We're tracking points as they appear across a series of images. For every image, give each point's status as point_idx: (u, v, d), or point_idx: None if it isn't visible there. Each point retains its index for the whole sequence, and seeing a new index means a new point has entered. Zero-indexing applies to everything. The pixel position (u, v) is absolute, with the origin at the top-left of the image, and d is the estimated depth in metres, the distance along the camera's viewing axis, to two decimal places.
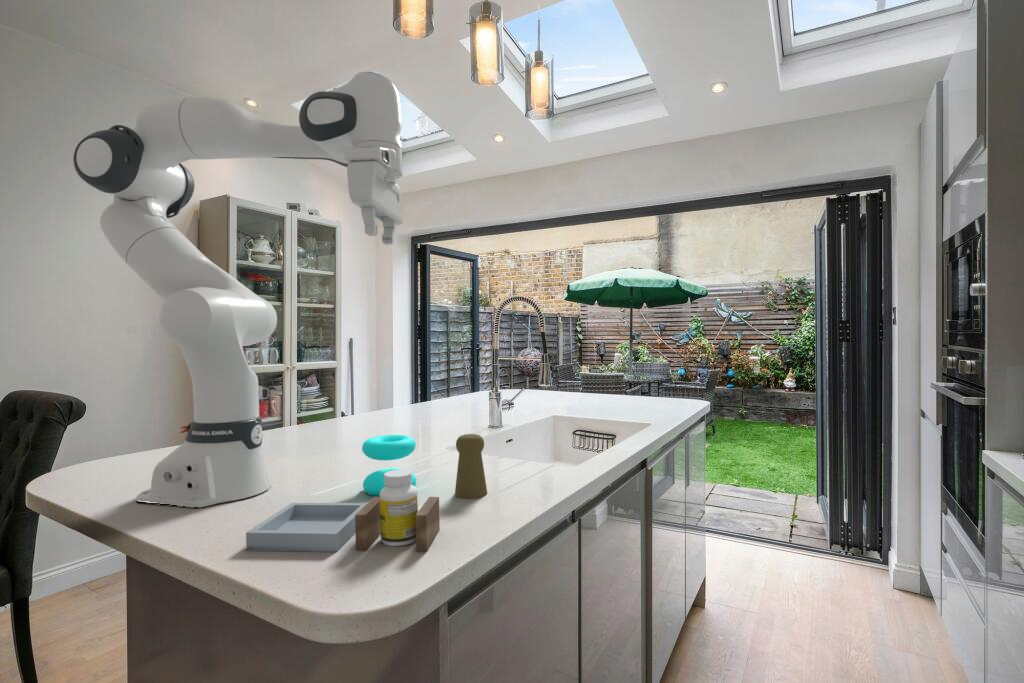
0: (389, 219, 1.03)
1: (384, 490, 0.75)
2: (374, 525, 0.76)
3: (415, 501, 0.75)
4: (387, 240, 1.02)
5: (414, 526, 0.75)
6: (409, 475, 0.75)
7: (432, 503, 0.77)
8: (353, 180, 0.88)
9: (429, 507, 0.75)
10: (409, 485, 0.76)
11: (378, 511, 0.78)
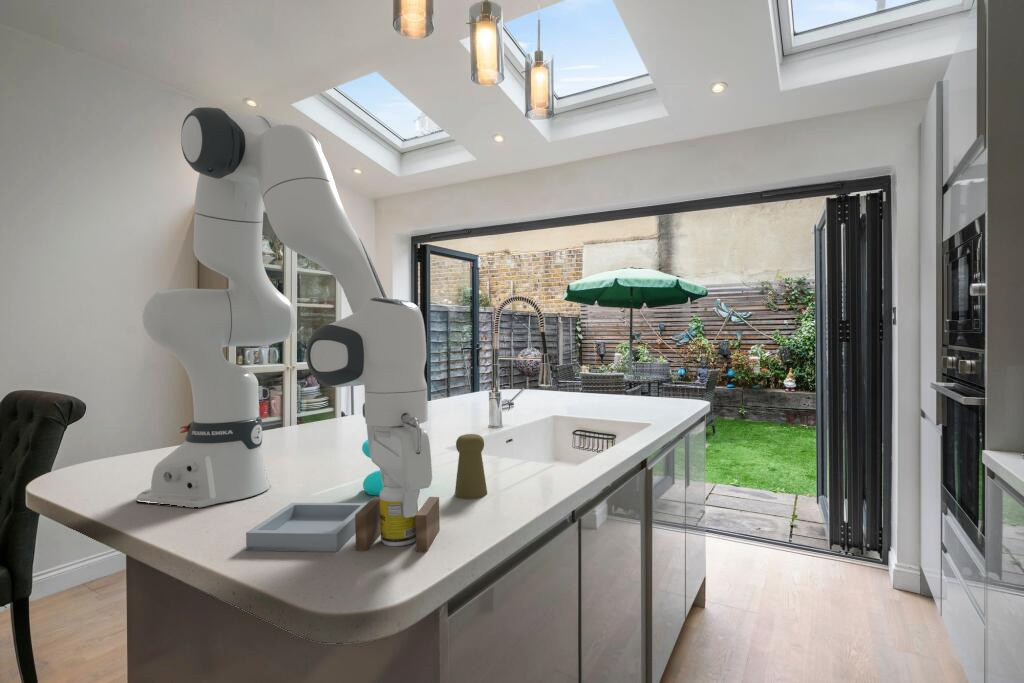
0: None
1: (384, 490, 0.75)
2: (374, 525, 0.76)
3: None
4: None
5: (414, 526, 0.75)
6: None
7: (432, 503, 0.77)
8: None
9: (429, 507, 0.75)
10: None
11: (378, 511, 0.78)
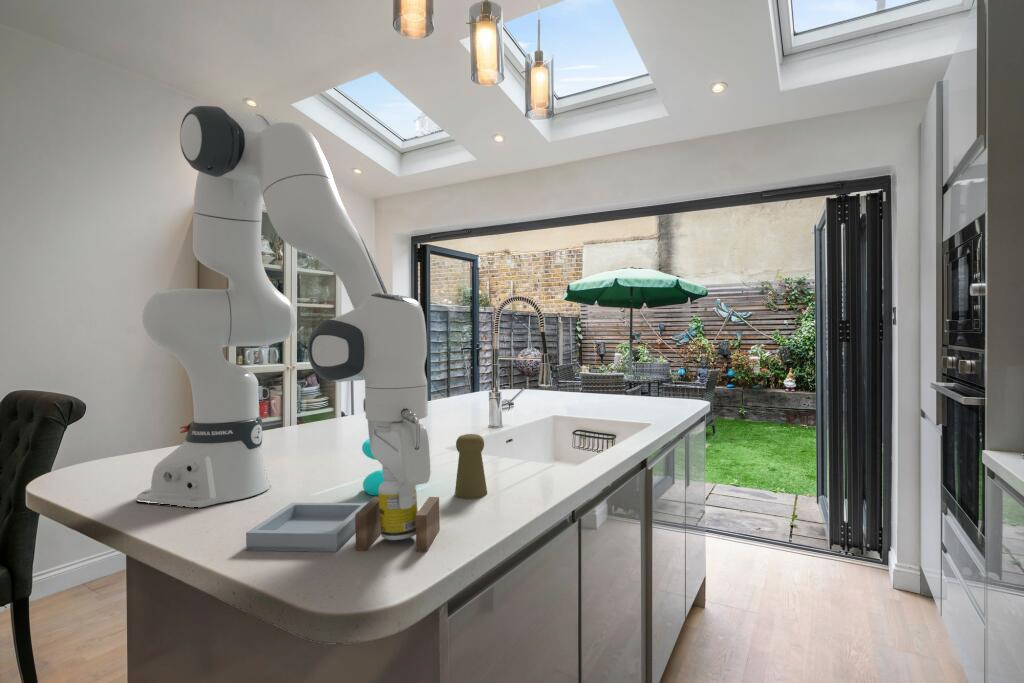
0: None
1: (383, 484, 0.75)
2: (374, 525, 0.76)
3: (414, 494, 0.76)
4: None
5: (413, 519, 0.75)
6: None
7: (432, 503, 0.77)
8: None
9: (429, 507, 0.75)
10: None
11: (378, 511, 0.78)
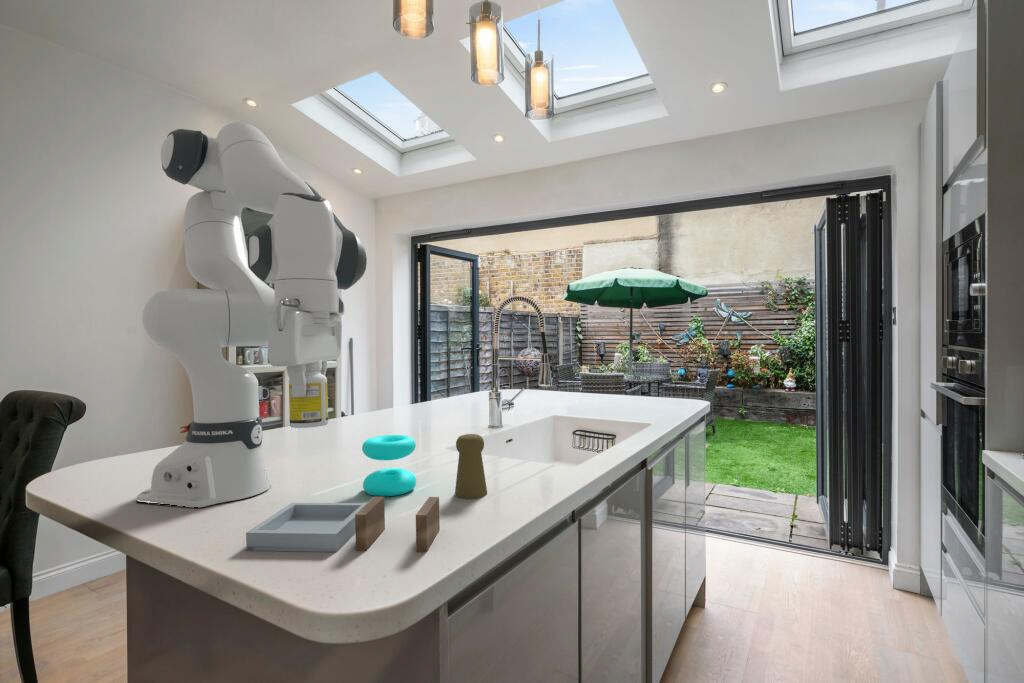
0: None
1: None
2: (374, 525, 0.76)
3: (316, 387, 0.77)
4: None
5: (314, 411, 0.77)
6: None
7: (432, 503, 0.77)
8: None
9: (429, 507, 0.75)
10: (314, 372, 0.78)
11: (378, 511, 0.78)
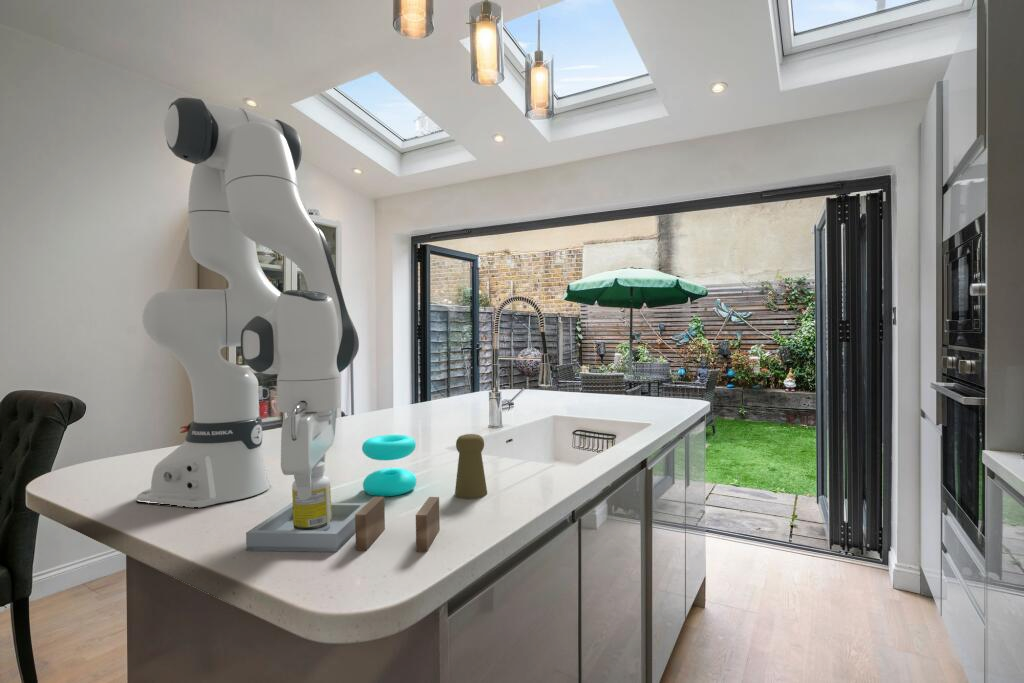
0: None
1: None
2: (374, 525, 0.76)
3: (322, 493, 0.78)
4: None
5: (320, 517, 0.78)
6: (316, 467, 0.78)
7: (432, 503, 0.77)
8: None
9: (429, 507, 0.75)
10: (318, 477, 0.79)
11: (378, 511, 0.78)
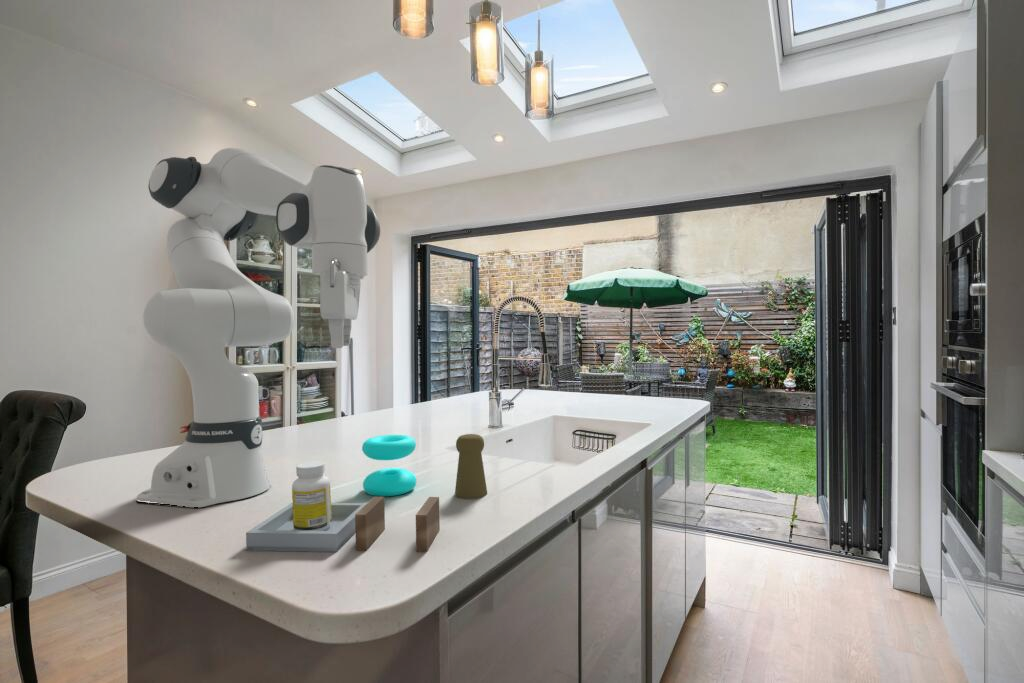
0: None
1: (295, 480, 0.79)
2: (374, 525, 0.76)
3: (322, 493, 0.78)
4: None
5: (320, 517, 0.78)
6: (316, 467, 0.78)
7: (432, 503, 0.77)
8: None
9: (429, 507, 0.75)
10: (318, 477, 0.79)
11: (378, 511, 0.78)
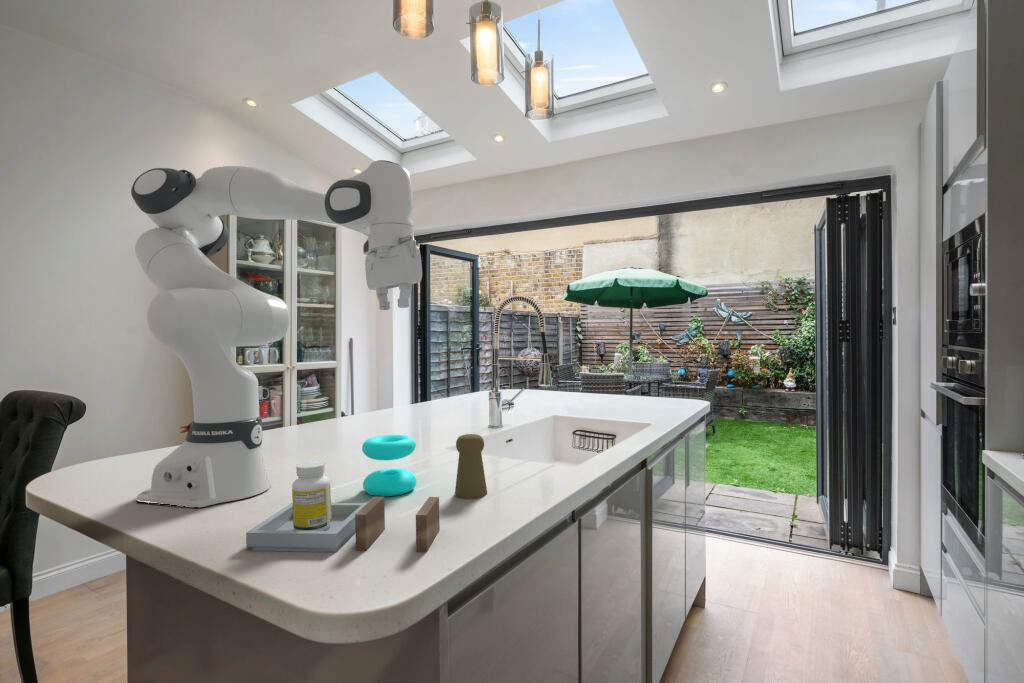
0: None
1: (295, 480, 0.79)
2: (374, 525, 0.76)
3: (322, 493, 0.78)
4: None
5: (320, 517, 0.78)
6: (316, 467, 0.78)
7: (432, 503, 0.77)
8: None
9: (429, 507, 0.75)
10: (318, 477, 0.79)
11: (378, 511, 0.78)
